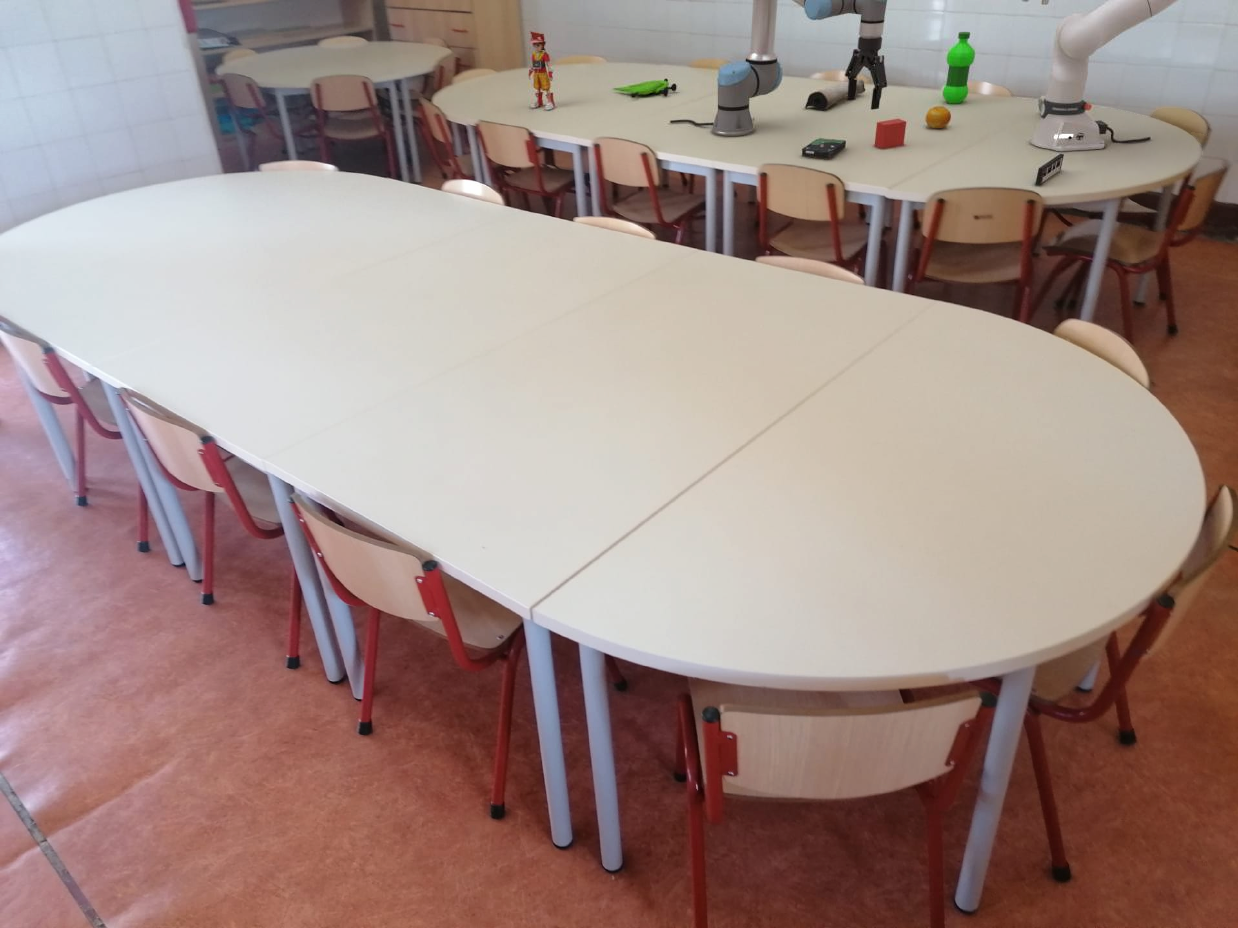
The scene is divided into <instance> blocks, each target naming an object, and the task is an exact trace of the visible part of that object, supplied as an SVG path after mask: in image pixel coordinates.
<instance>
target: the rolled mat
mask: <svg viewBox="0 0 1238 928" xmlns="http://www.w3.org/2000/svg"><path fill="white" fill-rule="evenodd" d="M848 82H849V80H846V81H843V82H840V83H838V84H835V85H832V86H829V87H824V88H822V89H818V90H816V91H814V92H812V93H810V94H809V95H808V98H807V100H806V103H805V106H804V108H805V109H807V108H808V107H813V108H814V109H815V110H820V111H826V110H827V109H828V108H830V107H831V106H832V105H834V104H836V103H837V102H838V101H840V100H842V99H843V98H845V97H847V96H848ZM865 91H866V88H865V82H864V80H863V79H858V78H857V86H856V95H855V96H857V95H861V94H863V93H865Z"/></svg>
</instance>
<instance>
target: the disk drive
mask: <svg viewBox="0 0 1238 928" xmlns="http://www.w3.org/2000/svg"><path fill="white" fill-rule="evenodd" d="M846 145H847V140H843V139H833V138H829V139H828V138H822V137H819V138H816V139H814V140H813V141H811V142H810V143H809V144H807V145H805V146H804V147H803V148H802V149H801V156H802V157H803V156H804V157H808V158H815V159H825V160H830V159H833V157H835V156H836V155H837V154H839V153H840V152H842V151H843V150H844V149H846V147H847V146H846Z"/></svg>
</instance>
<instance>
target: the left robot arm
mask: <svg viewBox="0 0 1238 928" xmlns="http://www.w3.org/2000/svg"><path fill="white" fill-rule="evenodd" d="M792 1H793V2H795V3H796V4H797V5H799V6H800V7H802V8H803V9H804V10H803V11H804V13H805V15H806V18H808V19H809V20H811V21H821V20H825V19H829V18H832V17H837V16H842V15H846V14H852V15H860V21H859V29H858V35H859V37H858V38H857V39H858V40H857V48H854V49H853V51H852V56H851V58H850V61H849V63H848V65H847V68H846V70H845V73H844V77H846V78H847V81H849V82H848V95H847V96H846V97H847V98H846V101H849V102H850V101H855V100H856V96H857V95H856V86H857V79H858V76H859V74H860V72H862V69H863V68H866V69H867V70H868V71H869V72H870V76H871V79H872V82H873V85H874V87H873V88H872V95H871V102H870V110H871V111H874V110H878V109H880V102H881V98H882V93H883V92H882V91H883V89H885V88H887V87H888V81H887V75H886V67H885V55H884V54H883V55H879V51H880V50H881V49H882V46H883V45H882V44H883V43H882V42H883V37H882V36H883V35H884V25H885V17H886V10H887V4H888V0H792ZM777 13H778V0H752V15H751V32H750V34H751V35H750V48H749V49H750V50H749V52H748V53H747V54H746V55H745V61H744V60H738V61H732V62H728V63H724V64H723V65H722V66H720V68H718V73H717V74H718V75H717V111H716V114H715V118H714V120H713V122H696V121H695V120H692V119H674V120H673V119H672V120H671V119H670V120H669V123H670V124H675V123H677V124H678V123H691V124H693V125H694V126H698V127H703V126H704V127H705V126H706V127H707V126H710V127H711V126H712V133H713V134H715V135H717V136H721V137H741V136H746V135H750V134H752V133H754V121H755V117H752V115H751V111H750V99H753V98H756V97H760V96H765V95H768V94H770V93H772V92H775V91H776V90H777V89H778V88H779V86H780V85H781V83H782V80H783V68H782V66H781V62H780V61H778V55H777V54H776V53H775V42H776V41H775V38H776V29H777V27H776V26H777V16H778V15H777Z"/></svg>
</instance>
